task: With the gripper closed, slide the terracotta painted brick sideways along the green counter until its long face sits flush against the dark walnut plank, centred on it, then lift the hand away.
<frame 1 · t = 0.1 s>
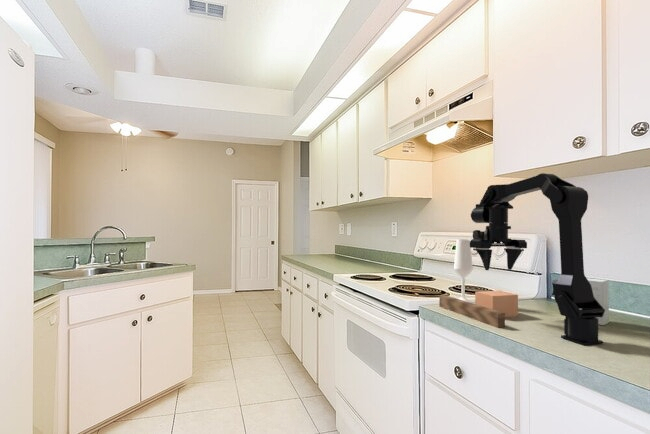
hand: (498, 269, 119), 15 cm above the worktop, fingers open, 9 cm apart
plank: (468, 315, 115), on the worktop
brick: (496, 314, 119), on the worktop
champagne flute: (463, 303, 136), on the worktop
small box: (590, 321, 111), on the worktop
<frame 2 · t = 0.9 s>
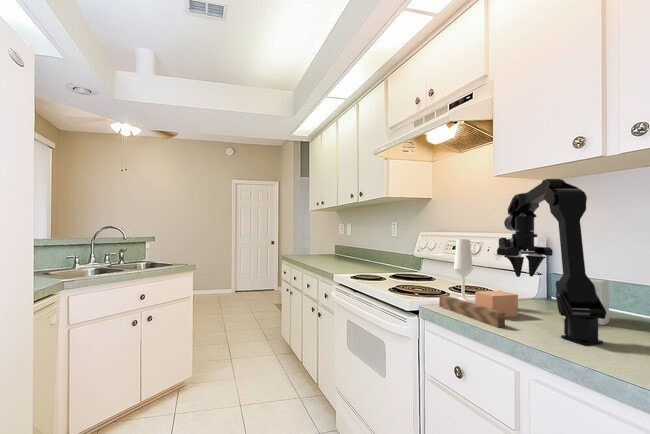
hand: (524, 276, 122), 12 cm above the worktop, fingers open, 5 cm apart
nothing on the worktop moved.
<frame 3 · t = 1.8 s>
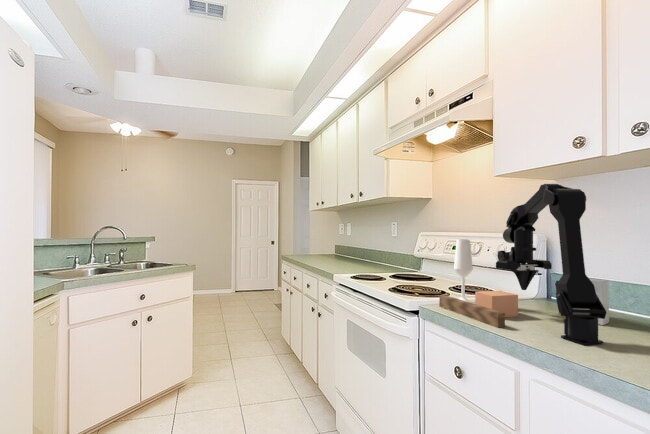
hand: (523, 290, 122), 7 cm above the worktop, fingers closed
nothing on the worktop moved.
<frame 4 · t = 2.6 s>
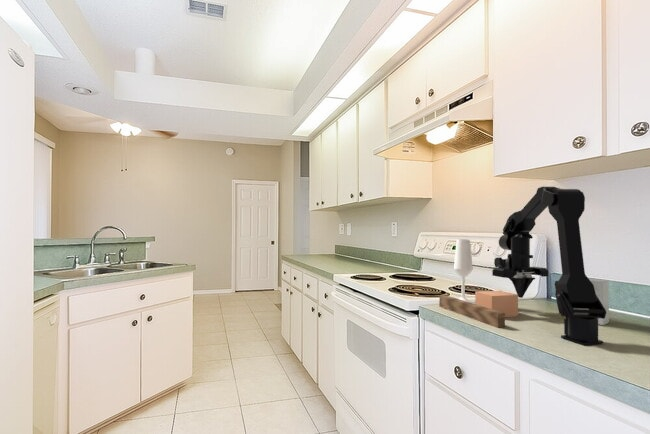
hand: (520, 297, 122), 5 cm above the worktop, fingers closed
nothing on the worktop moved.
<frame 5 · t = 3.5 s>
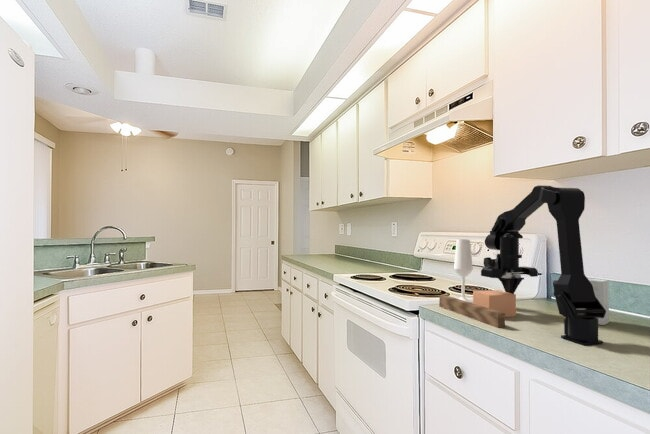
hand: (509, 297, 120), 5 cm above the worktop, fingers closed
brick: (494, 313, 118), on the worktop, touching gripper
everything else where it was.
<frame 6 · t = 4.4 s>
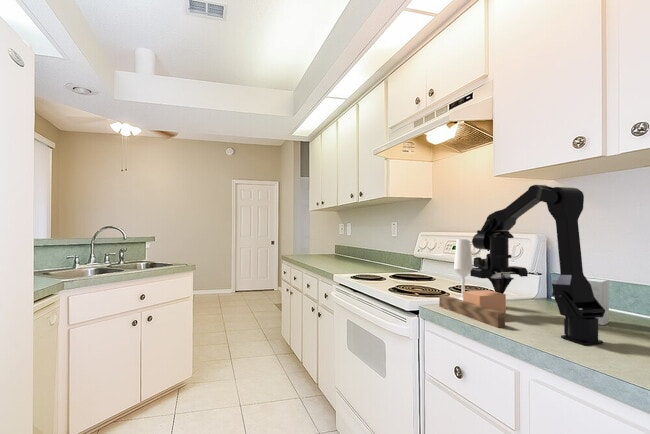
hand: (499, 297, 120), 5 cm above the worktop, fingers closed
brick: (484, 314, 117), on the worktop, touching gripper, plank
everything else where it was.
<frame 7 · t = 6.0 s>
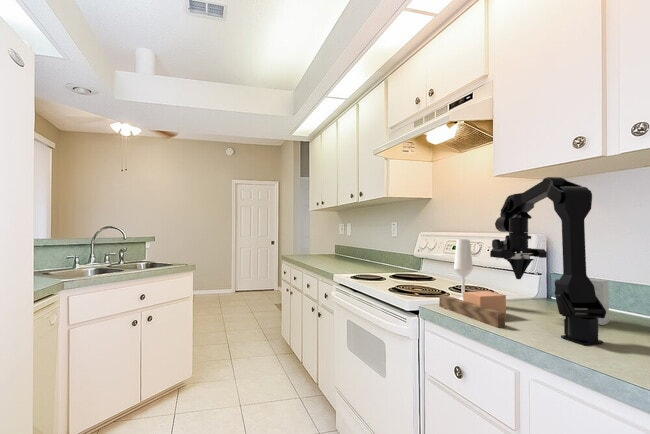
hand: (518, 279, 120), 11 cm above the worktop, fingers closed
brick: (484, 315, 117), on the worktop
everything else where it was.
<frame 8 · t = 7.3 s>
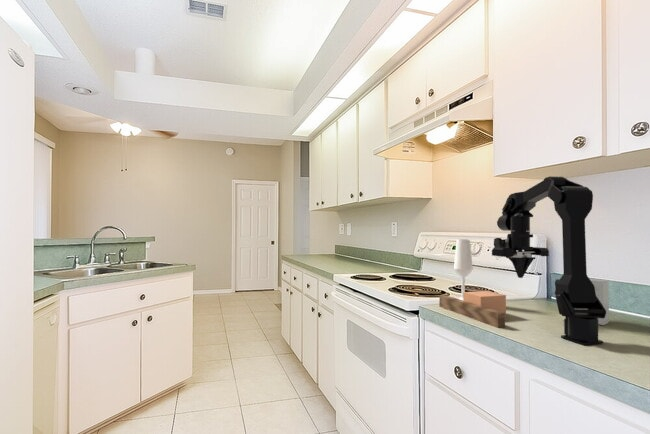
hand: (520, 277, 119), 12 cm above the worktop, fingers closed
nothing on the worktop moved.
at the end: brick 0.1 cm from the target spot on the worktop beside the plank, on the worktop; brick tilted 0° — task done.
